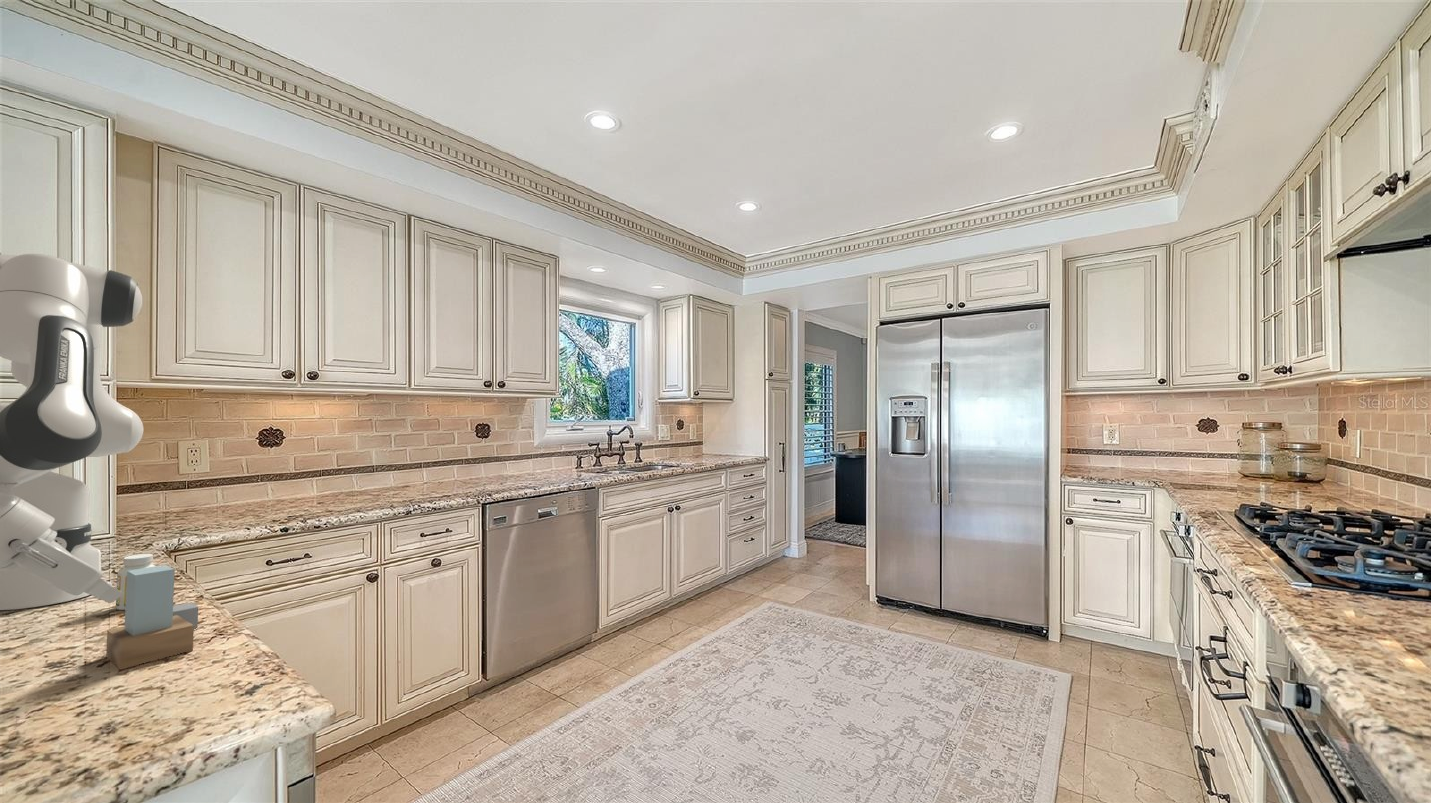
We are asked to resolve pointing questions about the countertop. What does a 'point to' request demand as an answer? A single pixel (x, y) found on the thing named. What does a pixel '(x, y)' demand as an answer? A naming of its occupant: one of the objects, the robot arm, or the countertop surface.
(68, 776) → the countertop surface
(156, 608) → the pillar
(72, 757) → the countertop surface
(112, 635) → the plinth
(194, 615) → the block
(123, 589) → the supplement bottle
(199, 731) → the countertop surface
